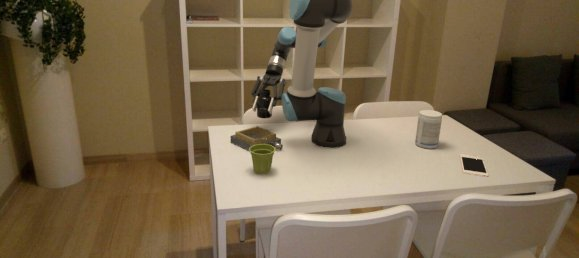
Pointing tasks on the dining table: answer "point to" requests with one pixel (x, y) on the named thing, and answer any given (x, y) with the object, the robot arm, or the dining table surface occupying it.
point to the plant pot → (262, 157)
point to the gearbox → (255, 138)
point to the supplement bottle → (263, 104)
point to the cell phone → (473, 165)
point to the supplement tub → (428, 129)
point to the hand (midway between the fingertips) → (261, 111)
